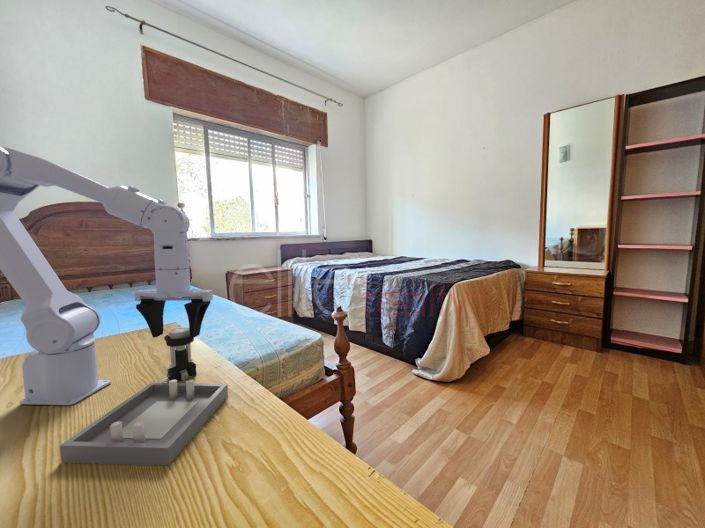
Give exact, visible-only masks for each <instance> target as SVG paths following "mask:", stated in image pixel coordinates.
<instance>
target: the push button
mask: <svg viewBox="0 0 705 528" xmlns="http://www.w3.org/2000/svg"><path fill="white" fill-rule="evenodd" d="M168 333H169V334H166V335H165V336H164V337H163V339H164V341H165V343H166V346H167V347H169V352H170V364H169V367H168V368H167V369H166V373H167V374H165V375H163V376H159V377H158V379H160V380H161V381H159V382H158V383H169V381H171V380H177V382H179V381H185V380H187V379H188V378H193V377H196V375H197V364H196V363H195V362H194V361H193V358H192V350H191V347H192V346H191V343H193V342H194V341H195V339H194V338H191V337H190V332H189V327H179V328H177V327H176V328H174V329H171V330H169V332H168ZM164 378H166V379H164ZM162 379H164V380H162Z"/></svg>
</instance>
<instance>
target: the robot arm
mask: <svg viewBox="0 0 705 528" xmlns="http://www.w3.org/2000/svg"><path fill="white" fill-rule="evenodd" d="M40 186H41V187H45V188H47V187H48V188H49V187H53V186H56V187H59V188H61V189H64V190H67V191H69V192H72V193H74V194H77V195H80V196H82V197H85V198H88V199H91V200H93V201H96V202H98V203H101V204H102V206H103V208H104V210H105V211H106V213H107V214H108V215H111V216H114V217H116V218H119V219H121V220H124V221H127V222H129V223H131V224H134V225H137V226H139V227H142V228H144V229H149V230H150V231H151V232H152V233H153V250H154V251H153V253H154V255H153V256H154V271H155V273H154V276H155V287H156V288H155V289H140V290H135V291H134V301H135V302H139V303H138V304H136V305H135V308H136V310H137V311H138V312H139V313H140V314H141V315H142V316H141V317H143V319H144V320H145V322H146V324H147V326H148V328H149V331H150V333H151V335H152V338H158V337H161V336H162V335H164V310H165V305H166V302H167V301H177V302H179V301H187V303H184V305H183V307H184V309H185V311H186V315H187V319H188V328H189V332H190V337H191V338H196V337H198V336H200V335H201V328H202V323H203V321H204V317H205V314H206V312H207V310H208V309H209V306H210V304H211V301H212V300H213V299H214V298H213V296H214V294H213V290H212V289H199V288H191V279H190V278H191V277H190V274H191V273H190V254H189V253H190V252H189V244H188V234H187V231H188V230H189V228H190V219H189V217H188V216H187V214H186V213H185V212H184V211H182V210H181V209H179V208H178V207H172V206H170V205H169V206H168V205H167V201H165V200H162V199H161V198H159V199H158V200H157V199H155V198H152V197H150V196H148V195H145V194H143V193H141V192H140V188H137V187H135V186H132V185H128V187H127V186H124V185H118V186H113V187H109V186H106V185H104V184H101V183H100V182H99V181H98V182H97V181H95V180H93V179H92V178H89V177H86V176H85V175H81V174H80V173H77V172H76V171H73V170H70V169H69V168H66V167H65V166H62V165H60V164H58V163H55V162H53V161H49V160H48V159H44V158H42V157H38V156H35V155H33V154H30V153H26V152H23V151H20V150H16V149H13V148H9V147H5V146H3V147H2V146H0V271H1V272H2V274H3V275H4V277H5V278H6V279H7V281H8V282H9V284H10V285H11V287H12V288H13V289H14V290H15V292H16V293H17V295H18V297H20V299H21V300H22V302H23V303H24V305H25V306H24V310H23V311H22V314H21V317H20V321H21V322H22V325H23V326H24V327H25V331H26V332H25V333H26V335H25V337H26V341H27V343H28V344H29V346H30V347H32V348H33V349H32V351H30V352H29V353H28V354H27V356H26V357H25V359H24V360H23V364H22V367H21V368H22V369H21V370H22V378H23V379H22V380H23V389H24V391H23V392H24V399H22V400H20V401H19V404H20V405H37V406H39V405H42V406H43V405H45V406H46V405H48V406H49V405H50V406H52V405H53V406H73V405H75V404H77V403H78V402H81V401H82V400H83V399H85V398H87V397H89V396H90V395H92V394H94V393H95V392H97V391H99V390H101V389H103V388H104V387H106V386H108V385H110V384H112V380H110V379H99V373H98V362H97V361H98V359H97V348H96V338H95V332H96V331H97V330H98V329H99V327H100V325H101V316H100V314H99V312H98V311H97V310H96V309H95V308H93V307H92V306H91V305H88V304H87V303H86V302H84V300H83V298H82V297H81V296H79V295H77V294H76V293H73V292H71V291H70V290H68V289H67V288H66V287H65V285H64V284H63V283H62V282H63V281H61V280H60V278H59V276H58V275H57V273H56V272H55V271H54V269H53V268H52V266H51V264H50V263H49V261H48V260H47V259H46V258H45V256H44V254H43V253H42V252H41V250H40V248H39V247H38V245H37V244H36V243H35V241H34V240H33V238H32V236H31V235H30V234H29V232H28V230H27V229H26V228H25V226H24V225H23V223H22V222H21V220H20V218H19V217H18V216H17V215H16V213H15V209H16V207H18V204H19V203H20V202H21V201H22V200H24V199H25V198H27V196H29V195H30V194H32V193H33V192H34V191H35V190H37V189H38V188H39V187H40ZM188 301H190V302H188Z"/></svg>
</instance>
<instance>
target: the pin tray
mask: <svg viewBox="0 0 705 528" xmlns="http://www.w3.org/2000/svg"><path fill="white" fill-rule="evenodd" d="M228 386H229V385H228V383H197V382H196V383H195V380H194V379H189V380H187V381H185V382H178V381H177V380H171V381H168V382H164V383H159V382H150V383H149V384H148V385H146V386H144V387H143V388H141V389H140V390H139V391H137V392H136V393H134V394H133V395H131V396H130V397H128V398H127V399H125V400H124V401H123V402H122V403H120V404H118V405H117V406H116V407H114V408H112V409H110V411H108V412H107V413H105V414H104V415H102V416H100V418H98V419H96V420H95V421H93V422H92V423H91V424H89V425H88V426H87V427H84V428H83V429H82V430H80V431H79V432H77V433H76V434H75V435H74V436H73V435H72V437H70V438H69V439H67V440H66V441H64V442H63V443H61V444H60V445H59V453H60V462H61V463H62V464H63V463H64V464H65V463H66V464H98V465H99V464H101V465H102V464H103V465H105V464H108V465H141V466H142V465H143V466H144V465H145V466H170V465H171V463H172V462H173V461H174V460H176V458H177V457H178V456H179V455H180V453H181V452H182V451H183V449H185V447H186V446H187V445H188V444H189V443H190V442H191V440H192V439H193V438H194V437H195V436H196V434H197V433H198V432H199V431H200V430H201V428H202V427H203V426H204V425H205V424H206V423H207V421H208V420H210V418H211V417H212V415H213V414H214V413H215V412H216V411H217V410H218V408H219V407H221V405H222V404H223V402H224V401H225V400H226V399H227V398H228V396H229V393H228V390H229V387H228Z"/></svg>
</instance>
